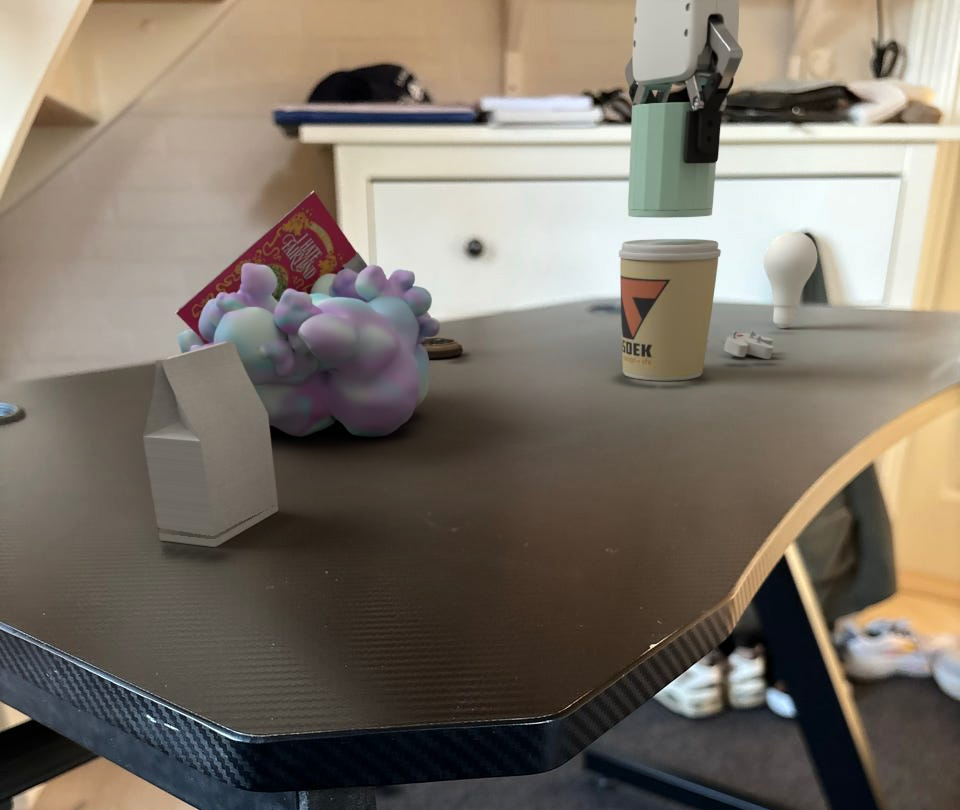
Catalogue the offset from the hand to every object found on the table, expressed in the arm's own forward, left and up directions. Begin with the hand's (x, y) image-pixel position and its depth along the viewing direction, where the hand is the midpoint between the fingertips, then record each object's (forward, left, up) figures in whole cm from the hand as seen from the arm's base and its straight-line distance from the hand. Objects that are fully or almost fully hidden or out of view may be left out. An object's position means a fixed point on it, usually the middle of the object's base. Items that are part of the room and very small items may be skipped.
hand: (673, 162), depth 91 cm
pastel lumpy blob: (+27, +25, -19) cm, 41 cm away
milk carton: (+23, +50, -19) cm, 58 cm away
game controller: (-6, -13, -19) cm, 24 cm away
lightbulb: (-13, -31, -19) cm, 39 cm away
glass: (0, 0, -4) cm, 4 cm away
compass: (+26, -9, -19) cm, 33 cm away
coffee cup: (0, 0, -19) cm, 19 cm away
